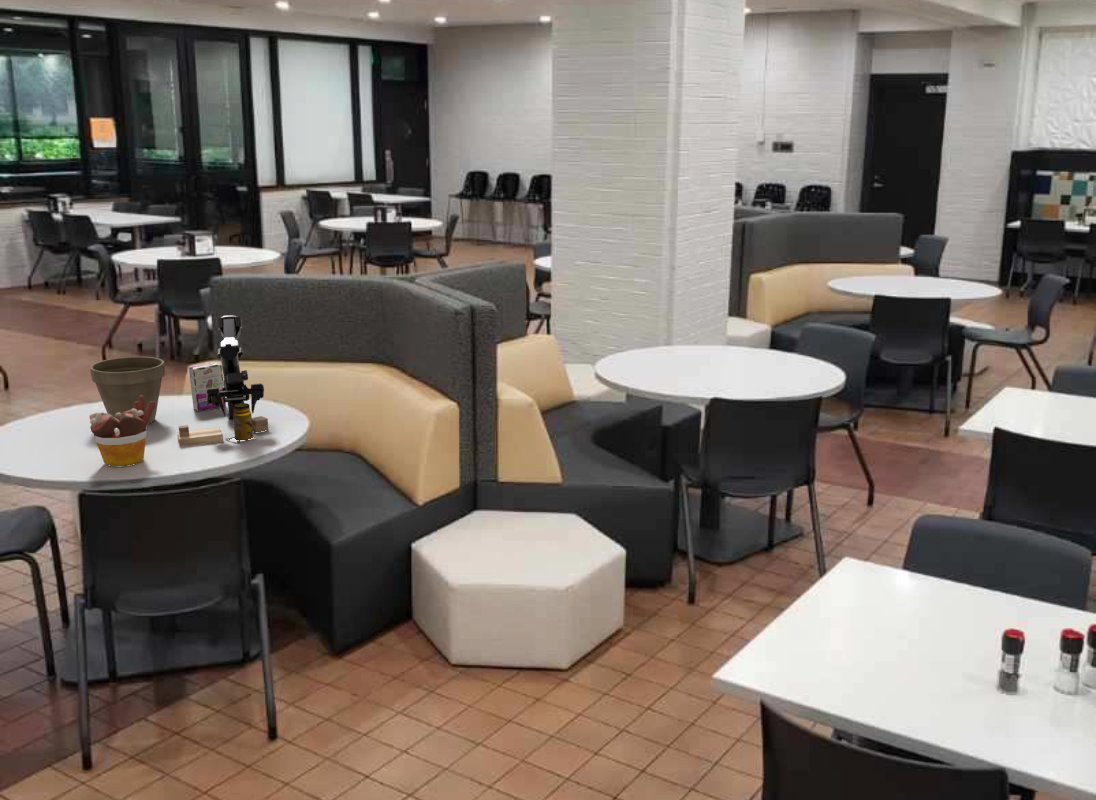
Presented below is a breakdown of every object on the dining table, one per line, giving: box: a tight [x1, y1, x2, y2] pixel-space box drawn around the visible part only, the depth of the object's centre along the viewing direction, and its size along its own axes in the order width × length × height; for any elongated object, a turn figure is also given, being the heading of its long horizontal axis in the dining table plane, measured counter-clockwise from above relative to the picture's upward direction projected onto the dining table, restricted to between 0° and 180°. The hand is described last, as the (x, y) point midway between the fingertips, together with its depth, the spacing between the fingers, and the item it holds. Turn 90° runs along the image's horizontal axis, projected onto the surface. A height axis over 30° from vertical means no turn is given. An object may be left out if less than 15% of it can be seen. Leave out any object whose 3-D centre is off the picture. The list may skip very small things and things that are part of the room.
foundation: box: [177, 424, 224, 447], centre depth 366 cm, size 9×14×6 cm, turn 112°
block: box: [252, 415, 269, 433], centre depth 376 cm, size 4×4×4 cm
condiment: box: [225, 402, 254, 441], centre depth 365 cm, size 7×8×12 cm
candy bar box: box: [188, 362, 227, 412], centre depth 406 cm, size 11×5×16 cm, turn 130°
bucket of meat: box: [89, 395, 155, 467], centre depth 342 cm, size 20×16×20 cm
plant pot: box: [89, 356, 166, 424], centre depth 387 cm, size 25×25×22 cm
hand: (239, 414), depth 366 cm, fingers open, 9 cm apart
